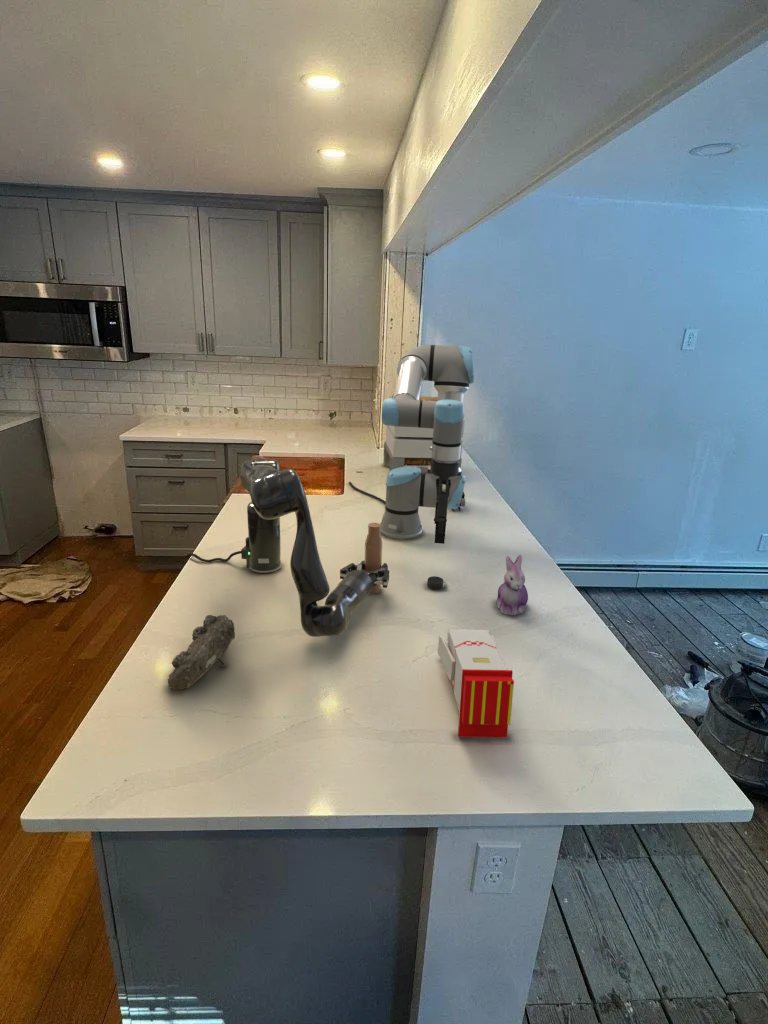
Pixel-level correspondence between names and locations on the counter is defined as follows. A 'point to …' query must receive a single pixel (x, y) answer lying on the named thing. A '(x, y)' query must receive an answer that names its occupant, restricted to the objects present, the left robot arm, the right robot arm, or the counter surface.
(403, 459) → the grey slatted crate
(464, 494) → the figurine character
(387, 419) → the right robot arm
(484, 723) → the toy
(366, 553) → the bottle
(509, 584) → the figurine
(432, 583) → the cap
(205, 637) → the fossil
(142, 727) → the counter surface
